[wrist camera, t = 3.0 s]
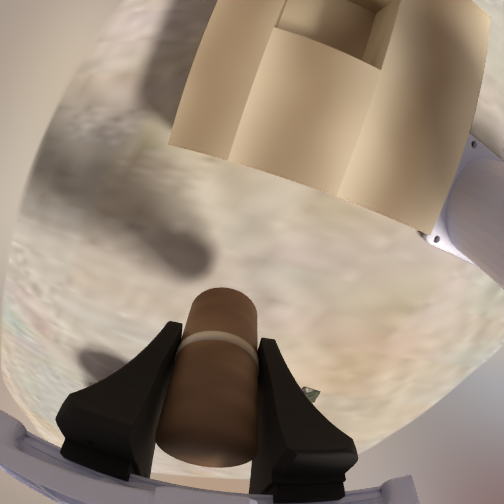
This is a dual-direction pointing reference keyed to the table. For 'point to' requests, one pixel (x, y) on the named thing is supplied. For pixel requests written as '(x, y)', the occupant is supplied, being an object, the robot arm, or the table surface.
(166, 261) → the table surface
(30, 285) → the table surface
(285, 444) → the robot arm
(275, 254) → the table surface
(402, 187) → the socket block
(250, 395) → the peg
